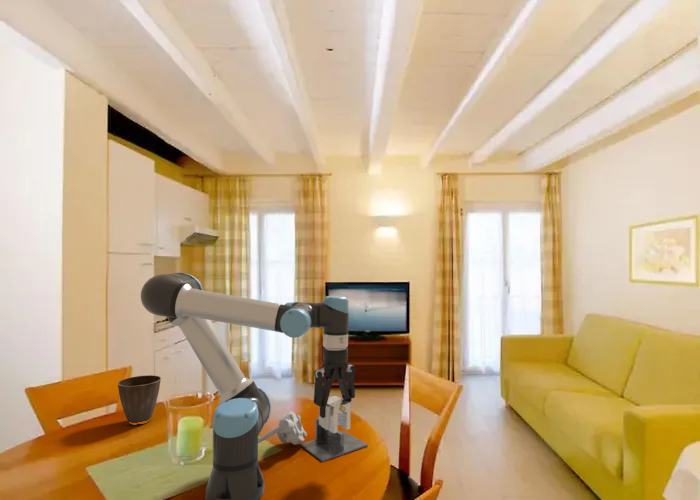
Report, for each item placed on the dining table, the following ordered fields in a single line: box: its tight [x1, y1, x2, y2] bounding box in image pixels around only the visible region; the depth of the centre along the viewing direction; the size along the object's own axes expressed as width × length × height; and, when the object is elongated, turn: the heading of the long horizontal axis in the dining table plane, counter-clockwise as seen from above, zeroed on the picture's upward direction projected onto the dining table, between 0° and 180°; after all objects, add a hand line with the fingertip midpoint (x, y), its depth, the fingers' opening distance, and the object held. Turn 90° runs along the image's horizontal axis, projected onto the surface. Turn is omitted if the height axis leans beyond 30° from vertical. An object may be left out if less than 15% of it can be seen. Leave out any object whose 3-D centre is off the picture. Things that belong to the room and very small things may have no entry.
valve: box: [258, 410, 308, 446], centre depth 138 cm, size 10×18×15 cm
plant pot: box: [117, 374, 162, 423], centre depth 160 cm, size 15×15×16 cm
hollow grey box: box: [318, 395, 352, 433], centre depth 124 cm, size 6×8×8 cm
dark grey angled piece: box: [299, 417, 369, 463], centre depth 139 cm, size 18×14×8 cm
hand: (334, 425), depth 124 cm, fingers closed on hollow grey box, 6 cm apart
